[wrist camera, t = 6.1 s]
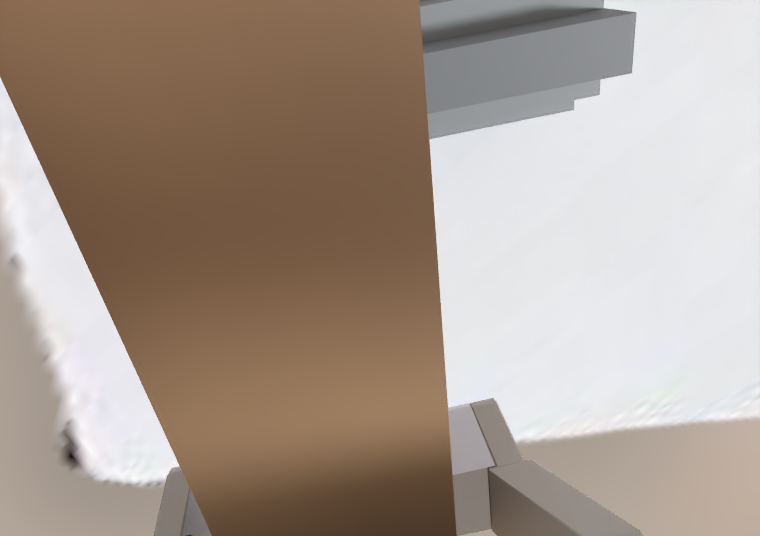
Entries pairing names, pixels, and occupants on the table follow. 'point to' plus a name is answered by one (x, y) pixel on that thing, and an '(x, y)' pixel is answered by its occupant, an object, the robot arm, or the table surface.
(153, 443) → the table surface
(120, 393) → the table surface
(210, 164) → the walnut bar
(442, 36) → the ridge block
